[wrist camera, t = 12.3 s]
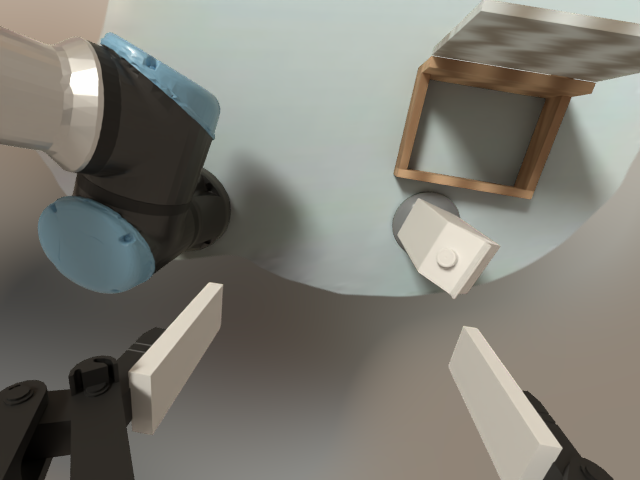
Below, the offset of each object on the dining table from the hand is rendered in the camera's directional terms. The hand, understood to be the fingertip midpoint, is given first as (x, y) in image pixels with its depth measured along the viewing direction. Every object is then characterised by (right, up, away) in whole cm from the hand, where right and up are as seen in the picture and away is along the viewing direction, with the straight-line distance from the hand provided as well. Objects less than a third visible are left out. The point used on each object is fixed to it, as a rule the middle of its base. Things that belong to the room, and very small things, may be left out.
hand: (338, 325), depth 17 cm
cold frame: (+22, +21, +30) cm, 43 cm away
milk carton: (+17, +7, +35) cm, 39 cm away
